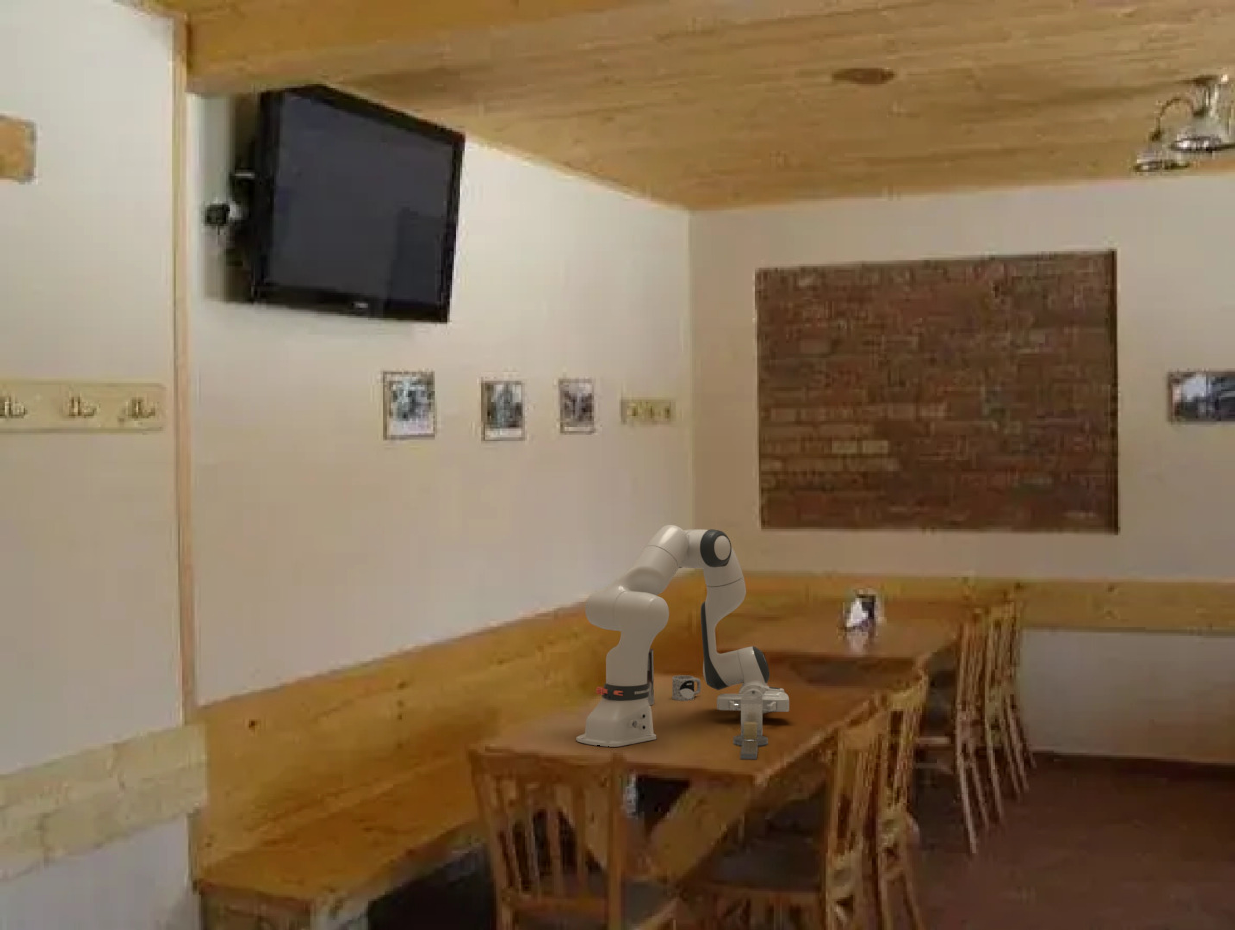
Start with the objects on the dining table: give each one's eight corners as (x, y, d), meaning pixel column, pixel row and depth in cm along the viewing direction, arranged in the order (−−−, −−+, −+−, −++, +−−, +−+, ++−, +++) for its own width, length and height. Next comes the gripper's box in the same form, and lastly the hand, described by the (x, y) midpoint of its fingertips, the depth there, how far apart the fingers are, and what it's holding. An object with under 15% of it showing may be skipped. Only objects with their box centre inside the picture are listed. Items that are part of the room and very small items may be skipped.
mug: (681, 701, 459) (681, 679, 459) (668, 698, 464) (668, 676, 464) (707, 698, 465) (707, 676, 465) (693, 694, 470) (693, 673, 470)
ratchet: (734, 739, 404) (734, 719, 404) (768, 740, 403) (768, 719, 403) (730, 759, 381) (730, 737, 380) (766, 760, 380) (766, 738, 379)
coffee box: (654, 701, 459) (654, 648, 458) (652, 705, 452) (652, 651, 452) (624, 701, 460) (624, 648, 459) (622, 705, 453) (622, 651, 453)
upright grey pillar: (761, 737, 406) (762, 699, 406) (740, 737, 406) (740, 699, 406) (762, 733, 411) (762, 696, 411) (741, 733, 412) (741, 695, 412)
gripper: (717, 687, 434) (714, 695, 420) (789, 688, 431) (789, 697, 418) (717, 709, 434) (714, 718, 420) (789, 710, 432) (789, 720, 418)
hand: (752, 707), depth 419 cm, fingers open, 8 cm apart
